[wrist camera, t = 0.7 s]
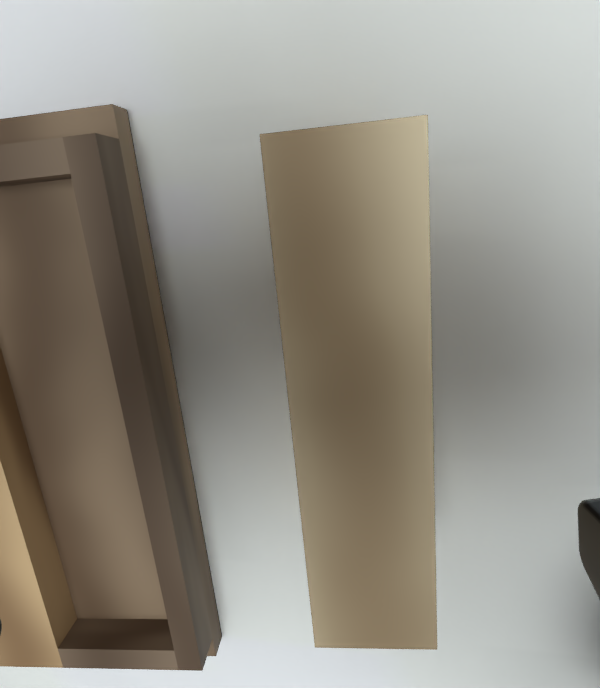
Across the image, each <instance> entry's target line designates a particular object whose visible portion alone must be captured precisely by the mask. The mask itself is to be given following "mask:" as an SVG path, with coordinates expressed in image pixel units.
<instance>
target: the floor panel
mask: <svg viewBox="0 0 600 688" xmlns="http://www.w3.org/2000/svg"><path fill="white" fill-rule="evenodd" d="M0 619H1V624H2V630H1V635H0V666H14V667H61V668H108V669H156V670H203V667H204V664H205V660H206V657H207V656H216V654H217V651H218V647H219V644H220V641H221V637H222V635H221V629H220V624H219V618H218V612H217V607H216V601H215V596H214V590H213V585H212V579H211V574H210V568H209V563H208V557H207V551H206V546H205V540H204V535H203V529H202V524H201V518H200V513H199V507H198V502H197V496H196V491H195V485H194V479H193V474H192V468H191V463H190V457H189V452H188V446H187V441H186V435H185V430H184V424H183V418H182V413H181V407H180V402H179V396H178V391H177V385H176V380H175V374H174V369H173V363H172V357H171V352H170V346H169V341H168V335H167V330H166V324H165V319H164V313H163V308H162V302H161V296H160V291H159V285H158V280H157V274H156V269H155V263H154V258H153V252H152V247H151V241H150V235H149V230H148V224H147V219H146V213H145V208H144V202H143V197H142V191H141V186H140V180H139V175H138V169H137V163H136V158H135V152H134V147H133V141H132V136H131V130H130V125H129V119H128V114H127V110H126V109H124V108H121V107H118V106H116V105H113V104H110V105H103V106H95V107H88V108H81V109H73V110H66V111H58V112H51V113H43V114H36V115H28V116H21V117H13V118H6V119H0Z"/></svg>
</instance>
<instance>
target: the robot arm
mask: <svg viewBox="0 0 600 688" xmlns="http://www.w3.org/2000/svg"><path fill="white" fill-rule="evenodd" d="M578 531H579V551H580V556H581V560H582V563H583V566H584V568H585V570H586V572H587V574H588V576H589V578H590V580H591V583H592V585H593V587H594V589H595V591H596V593H597V595H598V597H599V599H600V498H597V499H590V500H584V501H582V502H581V503H580V504H579V507H578ZM1 630H2V624H1V619H0V635H1Z"/></svg>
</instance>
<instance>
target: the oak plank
mask: <svg viewBox="0 0 600 688" xmlns="http://www.w3.org/2000/svg"><path fill="white" fill-rule="evenodd" d="M260 142H261V152H262V161H263V170H264V179H265V189H266V198H267V207H268V216H269V226H270V235H271V244H272V254H273V263H274V272H275V281H276V291H277V300H278V309H279V318H280V328H281V337H282V346H283V355H284V365H285V374H286V383H287V393H288V402H289V411H290V420H291V430H292V439H293V448H294V457H295V467H296V476H297V485H298V495H299V504H300V513H301V522H302V532H303V541H304V550H305V559H306V569H307V578H308V587H309V596H310V606H311V615H312V624H313V634H314V643H315V647H321V648H379V649H437V611H436V555H435V498H434V442H433V385H432V329H431V272H430V216H429V159H428V115H422V116H413V117H405V118H396V119H387V120H379V121H370V122H361V123H353V124H344V125H336V126H327V127H318V128H310V129H301V130H292V131H284V132H275V133H267V134H260Z"/></svg>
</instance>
